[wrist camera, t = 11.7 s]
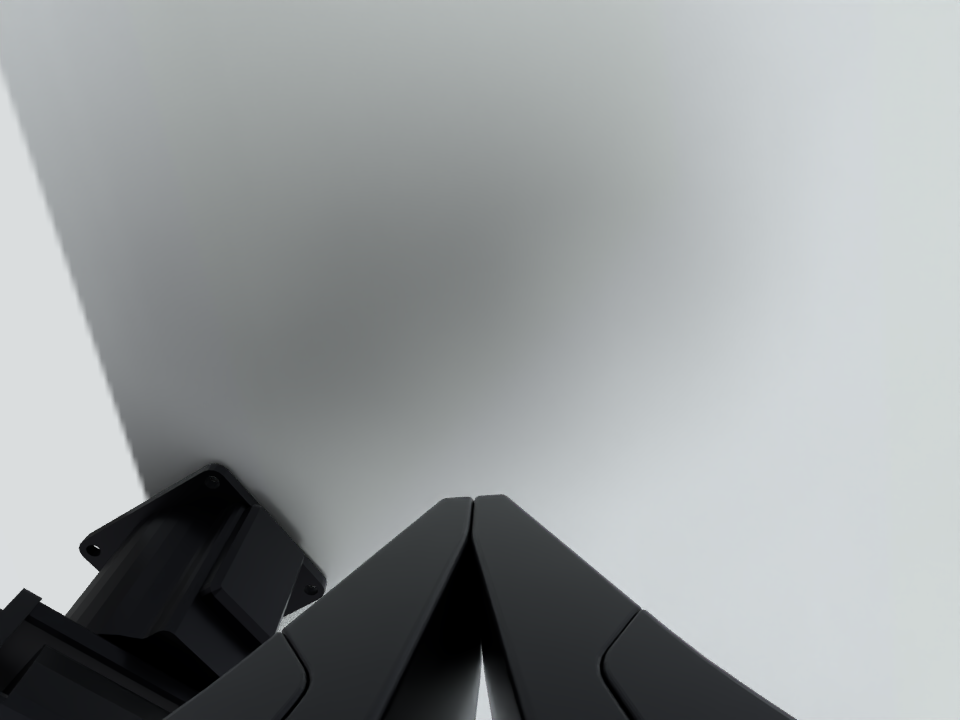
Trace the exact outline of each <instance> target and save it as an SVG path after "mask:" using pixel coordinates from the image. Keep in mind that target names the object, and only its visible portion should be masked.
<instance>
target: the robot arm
mask: <svg viewBox="0 0 960 720" xmlns="http://www.w3.org/2000/svg"><path fill="white" fill-rule="evenodd" d="M209 476H213V477H216V478H217V479H218V480H219V482H214V481H213V480H211V479H210V477H209ZM94 545H95V546H97V547H99V549H98V548H96V547H94ZM79 550H80V553H81V554H82V556H83V557H84V558H85V559H86V560H87V561H89V562H90V563H91V564H92V565H93V566H94V567H95V568H96V569H97V570H98V571H99V573H98V575H97V576H96V577H95V579H94V580H93V581H92V582H91V584H90V585H89V586H88V587H87V589H86V590H85V591H84V593H83V594H82V595H81V596H80V597H79V599H78V600H77V601H76V602H75V604H74V605H73V606H72V608H71V609H70V610H69V611H68V613H67V614H66V615H65V616H64V615H62V614H60V613H59V612H57V611H55V610H53V609H51V608H50V607H48V606H46V605H44V604H43V603H41V602H40V601H41V600H42V598H40V597H39V596H37V595H35V594H33V593H32V592H30V591H28V590H26V589H25V588H24V589H23V590H22V591H21V592H20V593H19V594H18V595H17V596H16V597H15V598H14V599H13V600H12V601H11V602H10V603H9V604H8V605H7V606H6V608H5V609H4V610H2V609H0V720H475V719H476V710H477V702H478V693H479V685H480V674H481V662H482V655H483V664H484V672H485V680H486V686H487V692H488V698H489V704H490V710H491V716H492V720H797V719H795V718H794V717H792V716H791V715H789V714H788V713H786V712H785V711H783V710H782V709H780V708H779V707H777V706H776V705H774V704H773V703H771V702H770V701H768V700H767V699H765V698H764V697H762V696H761V695H759V694H757V693H756V692H755V691H753V690H752V689H750V688H749V687H747V686H746V685H745V684H743V683H742V682H740V681H739V680H737V679H736V678H734V677H733V676H732V675H730V674H729V673H727V672H726V671H724V670H723V669H721V668H720V667H719V666H717V665H716V664H714V663H713V662H711V661H710V660H708V659H707V658H706V657H704V656H703V655H702V654H700V653H699V652H698V651H697V650H695V649H694V648H693V647H691V646H690V645H689V644H688V643H686V642H685V641H684V640H682V639H681V638H680V637H679V636H677V635H676V634H675V633H673V632H672V631H671V630H670V629H668V628H667V627H666V626H665V625H663V624H662V623H661V622H660V621H658V620H657V619H656V618H655V617H654V616H652V615H651V614H650V613H649V612H648V611H646V610H642V609H641V607H640V606H639V605H637V604H636V603H635V602H634V601H633V600H631V599H630V598H629V597H628V596H627V595H625V594H624V593H623V592H622V591H620V590H619V589H618V588H617V587H616V586H614V585H613V584H612V583H611V582H610V581H608V580H607V579H606V578H605V577H604V576H602V575H601V574H600V573H599V572H598V571H596V570H595V569H594V568H593V567H592V566H590V565H589V564H588V563H587V562H586V561H584V560H583V559H582V558H581V557H580V556H578V555H577V554H576V553H575V552H574V551H572V550H571V549H570V548H569V547H567V546H566V545H565V544H564V543H563V542H561V541H560V540H559V539H558V538H557V537H555V536H554V535H553V534H552V533H551V532H549V531H548V530H547V529H546V528H545V527H543V526H542V525H541V524H540V523H539V522H537V521H536V520H535V519H534V518H533V517H531V516H530V515H529V514H528V513H527V512H525V511H524V510H523V509H522V508H521V507H519V506H518V505H517V504H516V503H515V502H513V501H512V500H511V499H510V498H508V497H507V496H505V495H502V494H500V495H485V496H478V497H476V498H475V500H473V499H472V498H471V497H455V498H445V499H442V500H441V501H439V502H438V503H437V504H436V505H434V506H433V507H432V508H431V509H430V510H428V511H427V512H426V513H425V514H423V515H422V516H421V517H420V518H419V519H417V520H416V521H415V522H414V523H412V524H411V525H410V526H409V527H407V528H406V529H405V530H404V531H403V532H401V533H400V534H399V535H398V536H396V537H395V538H394V539H393V540H392V541H390V542H389V543H388V544H387V545H385V546H384V547H383V548H382V549H381V550H379V551H378V552H377V553H376V554H374V555H373V556H372V557H371V558H369V559H368V560H367V561H366V562H365V563H363V564H362V565H361V566H360V567H358V568H357V569H356V570H355V571H354V572H352V573H351V574H350V575H349V576H347V577H346V578H345V579H344V580H342V581H341V582H340V583H339V584H338V585H336V586H335V587H334V588H333V589H331V590H330V591H329V592H328V593H327V594H325V595H324V596H323V594H324V592H325V589H326V585H327V582H326V579H325V577H324V576H323V575H322V574H321V573H320V572H319V570H318V569H317V568H316V567H315V566H314V565H313V564H312V563H311V562H310V560H309V559H308V558H307V557H306V556H305V555H304V553H303V551H302V550H301V549H300V548H299V547H298V546H297V545H296V544H295V542H294V541H293V540H292V539H291V538H290V537H289V536H288V535H287V533H286V532H285V531H284V530H283V529H282V528H281V527H280V526H279V525H278V523H277V522H276V521H275V520H274V519H273V518H272V517H271V516H270V515H269V513H268V512H267V511H266V510H265V509H264V508H263V507H261V506H260V505H259V504H258V502H257V501H256V500H255V499H254V498H253V497H252V496H251V495H250V494H249V492H248V491H247V490H246V489H245V488H244V487H243V486H242V485H241V484H240V482H239V481H238V480H237V479H236V478H235V477H234V476H233V475H232V474H231V472H230V471H229V470H228V469H227V468H225V467H224V466H222V465H219V464H210V465H207V466H205V467H204V468H202V469H200V470H198V471H197V472H195V473H193V474H192V475H190V476H188V477H186V478H185V479H183V480H181V481H180V482H178V483H176V484H174V485H173V486H171V487H169V488H168V489H166V490H164V491H162V492H161V493H159V494H157V495H155V496H154V497H152V498H150V499H149V500H147V501H145V502H143V503H142V504H140V505H138V506H137V507H135V508H133V509H131V510H130V511H128V512H126V513H125V514H123V515H121V516H119V517H118V518H116V519H114V520H113V521H111V522H109V523H107V524H106V525H104V526H102V527H101V528H99V529H97V530H95V531H94V532H92V533H90V534H89V535H88V536H87V537H86V538H85V539H84V540H83V541H82V543H81V544H80V547H79ZM308 585H314V586H316V587H315V588H313V587H310V586H308ZM322 596H323V597H322ZM321 597H322V598H321ZM318 599H319V600H318ZM316 600H318V601H317V602H315V603H314V604H313V605H312V606H311V607H309V608H308V609H307V610H306V611H304V612H303V613H302V614H301V615H300V616H298V617H297V618H296V619H295V620H293V621H292V622H291V623H290V624H288V625H287V626H286V627H285V628H284V629H283V630H282V633H280V632H278V633H277V631H278V628H279V626H280V623H281V620H282V618H283V617H284V616H286V615H288V614H290V613H292V612H294V611H296V610H298V609H300V608H302V607H304V606H306V605H308V604H310V603H312V602H314V601H316Z"/></svg>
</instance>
